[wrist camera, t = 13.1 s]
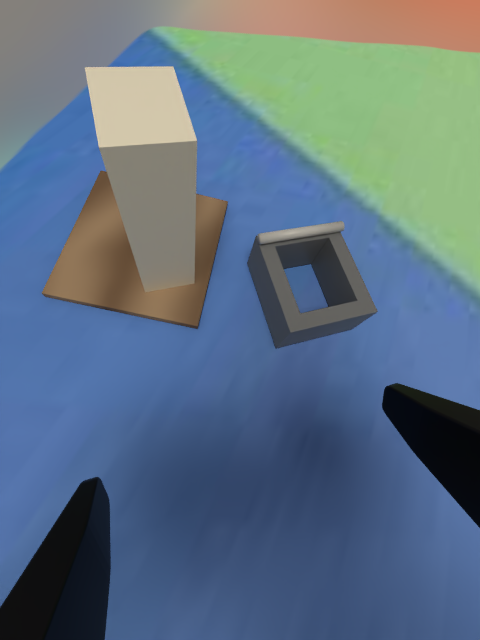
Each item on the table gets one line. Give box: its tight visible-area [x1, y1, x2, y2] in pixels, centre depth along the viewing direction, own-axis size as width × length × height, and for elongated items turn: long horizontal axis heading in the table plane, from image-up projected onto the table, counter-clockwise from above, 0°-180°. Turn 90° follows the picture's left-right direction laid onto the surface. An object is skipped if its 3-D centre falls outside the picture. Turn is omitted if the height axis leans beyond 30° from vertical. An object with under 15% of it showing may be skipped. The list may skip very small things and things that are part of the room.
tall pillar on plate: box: [85, 67, 197, 292], centre depth 19 cm, size 5×4×13 cm
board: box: [42, 171, 228, 329], centre depth 26 cm, size 12×13×1 cm
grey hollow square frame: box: [247, 221, 378, 348], centre depth 24 cm, size 8×7×5 cm
